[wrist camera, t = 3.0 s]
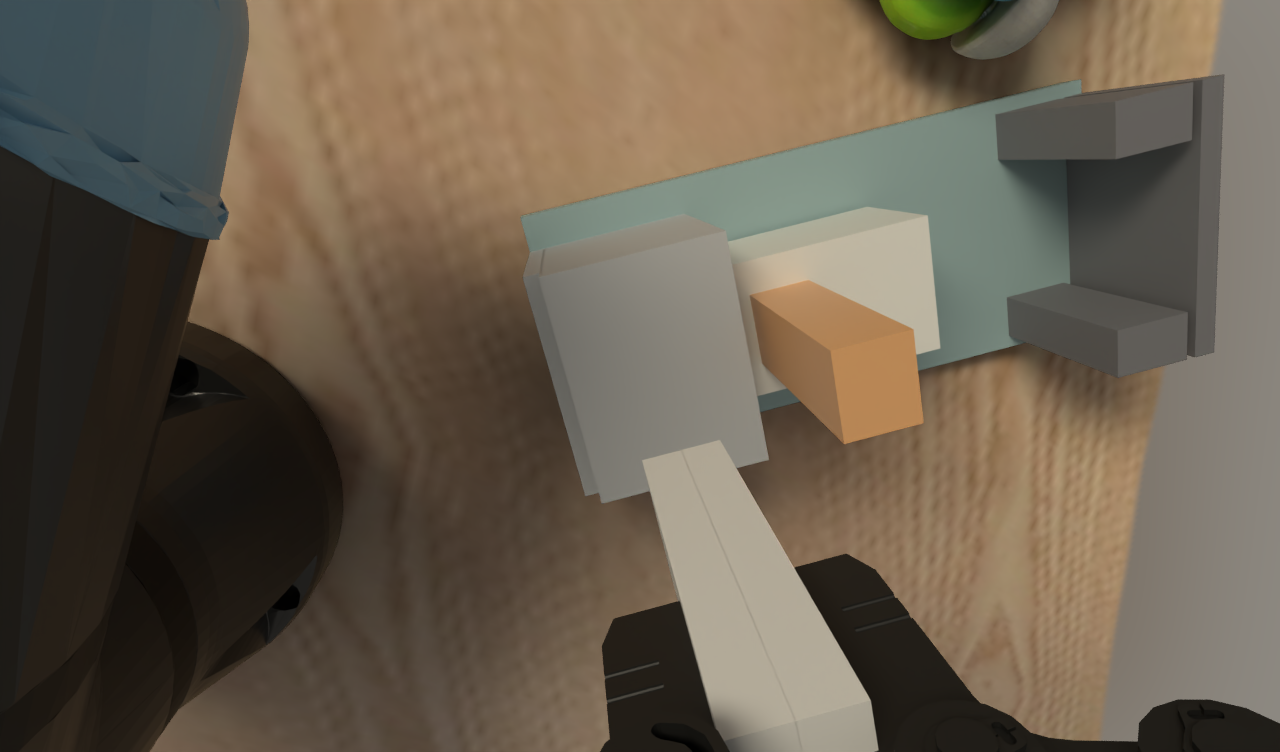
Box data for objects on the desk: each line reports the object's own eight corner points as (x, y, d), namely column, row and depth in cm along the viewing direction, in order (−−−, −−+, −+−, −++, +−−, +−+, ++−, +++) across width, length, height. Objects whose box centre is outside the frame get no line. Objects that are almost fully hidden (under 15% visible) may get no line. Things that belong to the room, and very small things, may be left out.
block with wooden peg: (595, 393, 28) (620, 545, 17) (565, 282, 26) (572, 369, 15) (880, 319, 28) (1088, 420, 17) (867, 206, 27) (1084, 238, 16)
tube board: (586, 447, 30) (596, 542, 22) (521, 215, 27) (508, 236, 19) (1070, 321, 31) (1235, 372, 23) (1062, 82, 27) (1250, 52, 20)
